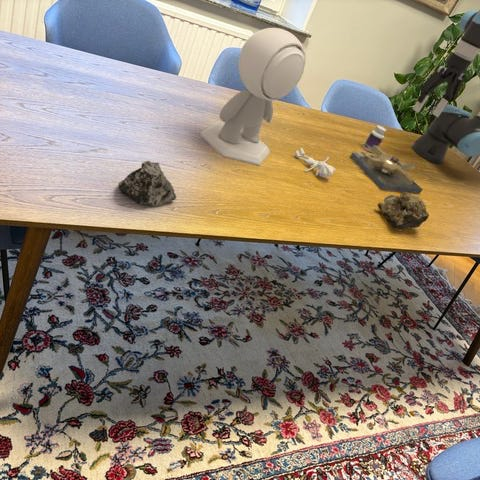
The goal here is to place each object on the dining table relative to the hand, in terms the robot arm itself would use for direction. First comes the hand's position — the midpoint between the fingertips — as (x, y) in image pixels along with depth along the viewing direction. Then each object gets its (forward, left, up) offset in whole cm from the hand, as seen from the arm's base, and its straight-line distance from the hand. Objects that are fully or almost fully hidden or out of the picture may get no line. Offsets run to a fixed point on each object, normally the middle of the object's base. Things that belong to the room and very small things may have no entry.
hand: (425, 113), depth 170 cm
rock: (+113, +36, -21) cm, 121 cm away
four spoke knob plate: (+18, +14, -18) cm, 29 cm away
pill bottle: (+11, -5, -21) cm, 24 cm away
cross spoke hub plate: (+18, +14, -21) cm, 31 cm away
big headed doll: (+78, +7, -21) cm, 81 cm away
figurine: (+53, +16, -21) cm, 59 cm away
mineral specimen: (+36, +40, -21) cm, 58 cm away
